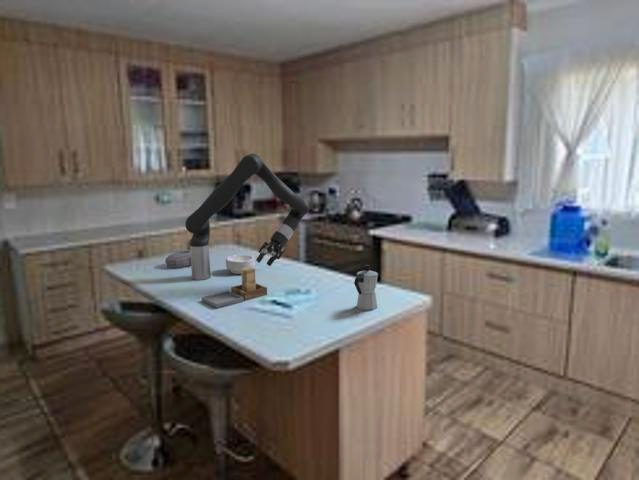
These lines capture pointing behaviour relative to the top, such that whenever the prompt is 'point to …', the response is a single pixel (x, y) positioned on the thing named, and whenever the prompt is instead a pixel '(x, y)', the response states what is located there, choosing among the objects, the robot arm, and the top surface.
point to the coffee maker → (366, 289)
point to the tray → (222, 299)
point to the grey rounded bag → (179, 260)
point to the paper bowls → (239, 263)
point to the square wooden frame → (250, 292)
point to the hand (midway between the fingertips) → (262, 263)
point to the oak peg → (248, 279)
